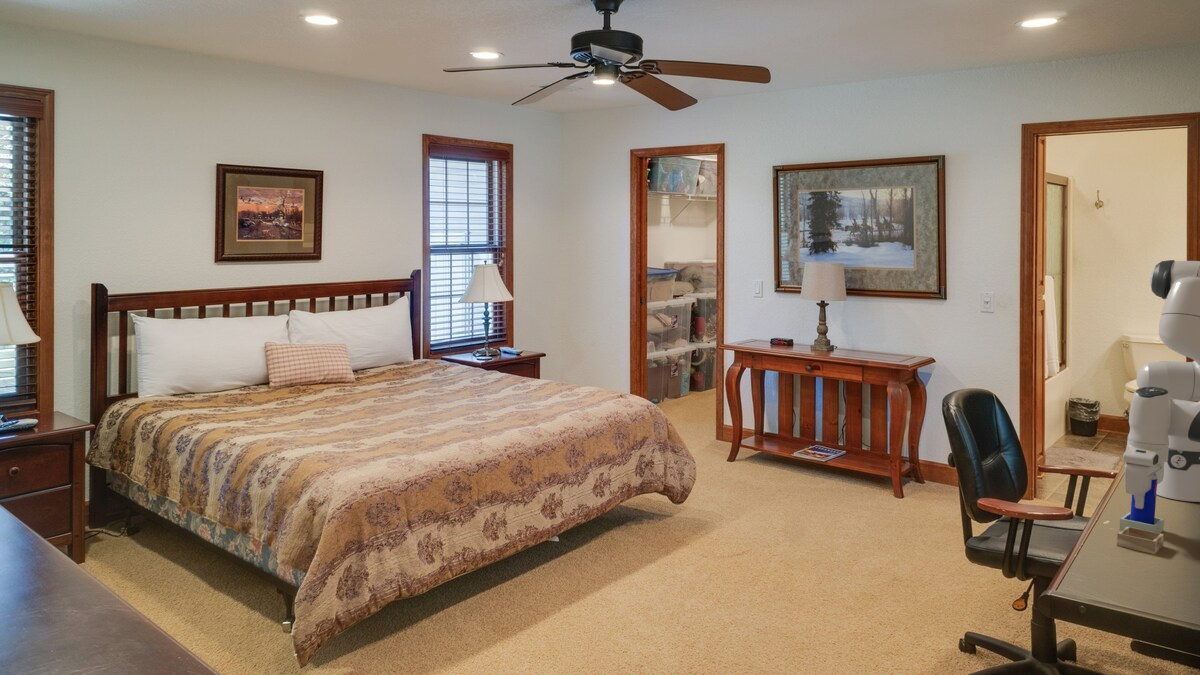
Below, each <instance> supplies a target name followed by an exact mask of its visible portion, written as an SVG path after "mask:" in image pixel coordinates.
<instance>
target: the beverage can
mask: <svg viewBox="0 0 1200 675" xmlns="http://www.w3.org/2000/svg"><path fill="white" fill-rule="evenodd" d="M1156 492H1157V474H1156V473H1155V475H1152V483H1151V489H1150V490H1149V491H1147V492H1146V493H1145V496H1144V501H1145V507H1144V508H1143V509H1139V508H1136V507H1135V498H1134V495H1133V494H1131V502H1130V503H1131V504H1130V512H1131V516H1130V520H1132V521H1137V522H1141V523H1146V524H1151V525H1154V519H1155V517H1156V516H1155V515H1156V505H1157V503H1156V502H1157V494H1156Z"/></svg>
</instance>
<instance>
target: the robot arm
mask: <svg viewBox="0 0 1200 675" xmlns="http://www.w3.org/2000/svg"><path fill="white" fill-rule="evenodd" d="M1149 278H1150V279H1149V283H1150V288H1151V289H1150V290H1151V292H1152V293H1153V294H1154V295H1155V296H1157V297H1159V298H1161V299H1163V300H1164V301H1165V302H1164V304H1163V308H1162V311H1161V315H1160V319H1159V323H1158V324H1159V325H1158V335H1159V338H1160V340H1161V342H1162V343H1163V344H1164V345H1165V346H1166V347H1168V349H1170V350H1172V351H1173V352H1176V353H1178V354H1180V355H1181V356H1184V357H1186V358H1189V359H1190V360H1193V361H1175V360H1174V361H1171V360H1169V361H1168V360H1161V361H1154V362H1153V361H1152V362H1147V363H1144V364H1143V365H1142V366H1141V367H1140V368H1139V370H1138V372H1137V373H1136V379H1135V380H1136V381H1135V382H1136V385H1137V387H1138V388H1137V389H1136V390H1134V392H1133V395H1132V398H1131V402H1130V407H1129V413H1128V415H1129V416H1128V424H1129V433H1128V435H1127V442H1126V448H1125V451H1124V452H1123V456H1122V462H1123V463H1125V464H1124V490H1125V493H1126V494H1129V495H1132V494H1133V495H1134V498H1135V507H1136V508H1139V509H1143V508H1144V507H1145V501H1144V496H1145V493H1146V492H1147V491H1149V490H1150V489H1151V483H1152V475H1155V473H1156V474H1157V492H1156V496H1160V497H1163V498H1166V499H1172V500H1176V501H1177V500H1178V501H1182V502H1195V503H1197V502H1198V503H1200V261H1199V260H1177V261H1175V260H1174V259H1170V260H1167V259H1166V260H1163V261H1160V262H1158V263H1157V264H1156V265H1155V266H1154V268H1153V270H1152V272H1151V274H1150V277H1149Z"/></svg>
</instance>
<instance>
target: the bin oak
mask: <svg viewBox="0 0 1200 675" xmlns="http://www.w3.org/2000/svg"><path fill="white" fill-rule="evenodd" d="M1116 536H1117V538H1116V546H1117V547H1121V548H1125V549H1131V550H1134V551H1139V552H1144V553H1148V554H1152V555H1155V554H1156V553H1158V551H1159V550H1161V548H1163V547H1164V542H1165V541H1164V540H1165V538H1164V537H1165V533H1162V532H1161V533H1157V532H1152V531H1147V530H1143V529H1138V528H1133V527H1129V526H1127V527H1126V528H1124V529H1123V530H1122V531H1121V530H1119V532H1117V535H1116Z"/></svg>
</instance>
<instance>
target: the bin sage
mask: <svg viewBox="0 0 1200 675" xmlns="http://www.w3.org/2000/svg"><path fill="white" fill-rule="evenodd" d="M1130 516H1131V511H1129V512H1127V513H1126V514H1124V515H1123V516H1122V517H1120V518H1119V529H1118V530H1119V531H1122V530H1123V529H1124V528H1126V527H1127V526H1129V527H1133V528H1138V529H1143V530H1147V531H1152V532H1157V533H1161V534H1162V532H1164V528H1165V519H1164V518H1160V517H1156V516H1155V519H1154V525H1151V524H1146V523H1141V522H1137V521H1132V520H1130Z"/></svg>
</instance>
